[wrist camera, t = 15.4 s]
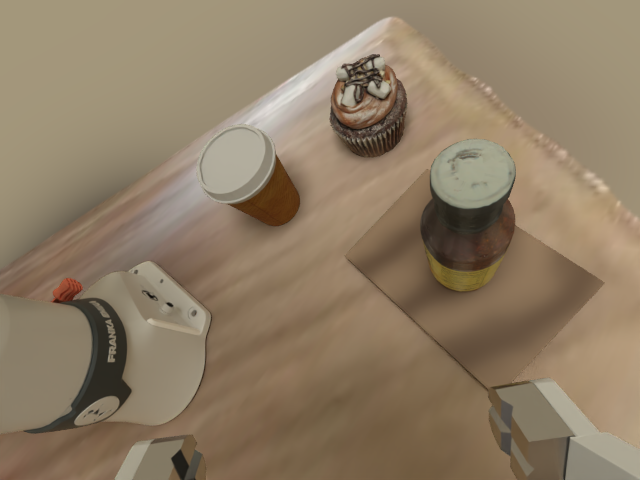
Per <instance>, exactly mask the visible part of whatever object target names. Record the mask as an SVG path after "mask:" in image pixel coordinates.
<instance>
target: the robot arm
mask: <svg viewBox="0 0 640 480" xmlns="http://www.w3.org/2000/svg"><path fill="white" fill-rule="evenodd" d="M82 289H83V287H82V285H81V284H80V283H79V282H77V281H76V280H73V279H71V278H70V279H69V278H66V279H64V280H63V281H62V283H61V284H60V286H59V287H58V288H57V289H55V290H54V291H53V295H54V296H55V298H54V299H53V300H52V301H51V302H47V301H41V300H35V299H29V298H22V297H16V296H10V295H4V294H0V434H5V433H11V432H18V431H25V432H27V433H44V432H52V431H60V430H66V429H73V428H78V427H82V426H87V425H90V424H94V423H98V422H130V423H137V424H142V425H148V426H155V425H160V424H164V423H166V422H168V421H170V420H172V419H173V418H175V417H176V416H177V415H179V414H180V413H181V412H182V411H183V410H184V409H185V408H186V406H187V405H188V404H189V403H190V401H191V400H192V398H193V396H194V395H195V393H196V391H197V389H198V387H199V384H200V381H201V378H202V375H203V370H204V365H205V339H206V335H207V332H208V329H209V325H210V321H211V314H210V312H209V311H208V310H207V309H206V308H205V307H204V306H203V305H202V304H200V303H199V302H198V301H197V300H196V299H195V298H194V297H193V296H192V295H191V294H189V293H188V292H187V291H186V290H185V289H184V288H183V287H182V286H181V285H179V284H178V283H177V282H176V281H175V280H174V279H173V278H172V277H171V276H170V275H168V274H167V273H166V272H165V271H164V270H163V269H162V268H161V267H160V266H158V265H157V264H156V263H155V262H151V261H147V262H143V263H141V264H139V265H137V266H135V267H133V268H132V269H130V270H129V271H128V272H124V271H117V272H112V273H110V274H108V275H106V276H104V277H102V278H101V279H99V280H98V281H97V282H96V283H94V284H93V285H92V286H91V287H90V288H89V289H88V290H87V291H86V292H85V293H84V294H83V295H82V296H81V297H80V298H79V299H77V300H73V297H74V296H75V295H77V294H78V293H79V292H80V291H81V290H82ZM196 311H197V314H196V316H195V313H196ZM488 398H489V400H490V401H491V403H492V407H491V408H490V409H489V422H490V425H491V429H492V432H493V435H494V437H495V440H496V442H497V443H498V445H499V447H500V449H501V450H502V451H503V452H505V453H506V454H508V455H509V456H511V459H510V467H511V469H512V471H513V473H514V475H515V476H516V478H517V480H640V449H639V448H637V447H635V446H633V445H631V444H629V443H627V442H625V441H623V440H622V439H620V438H618V437H616V436H614V435H612V434H610V433H608V432H602V433H600V431H599V430H598V429H597V428H596V427H595V426H594V425H593V424H592V422H591V421H590V420H589V419H588V418H587V417H586V416H585V415H584V414H583V412H582V411H581V410H580V409H579V408H578V407H577V406H576V405H575V403H574V402H573V401H572V400H571V399H570V398H569V397H568V396H567V395H566V393H565V392H564V391H563V390H562V389H561V388H560V387H559V386H558V384H557V383H556V382H555V381H554V380H552V379H551V378H543V379H536V380H530V381H522V382H517V383H511V384H505V385H499V386H493V387H490V388H489V391H488ZM196 445H197V442H196V440H195V438H194V436H193V435H182V436H174V437H166V438H158V439H152V440H145V441H138V442H137V443H136V444H135V445H133V446H132V448H131V449H130V451H129V453H128V455H127V457H126V459H125V461H124V462H123V464H122V466H121V468H120V470H119V472H118V473H117V475H116V477H115V479H114V480H206V463H205V459H204V457H203V454H201V453H200V452H198V451H197V450H195V448H196Z"/></svg>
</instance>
